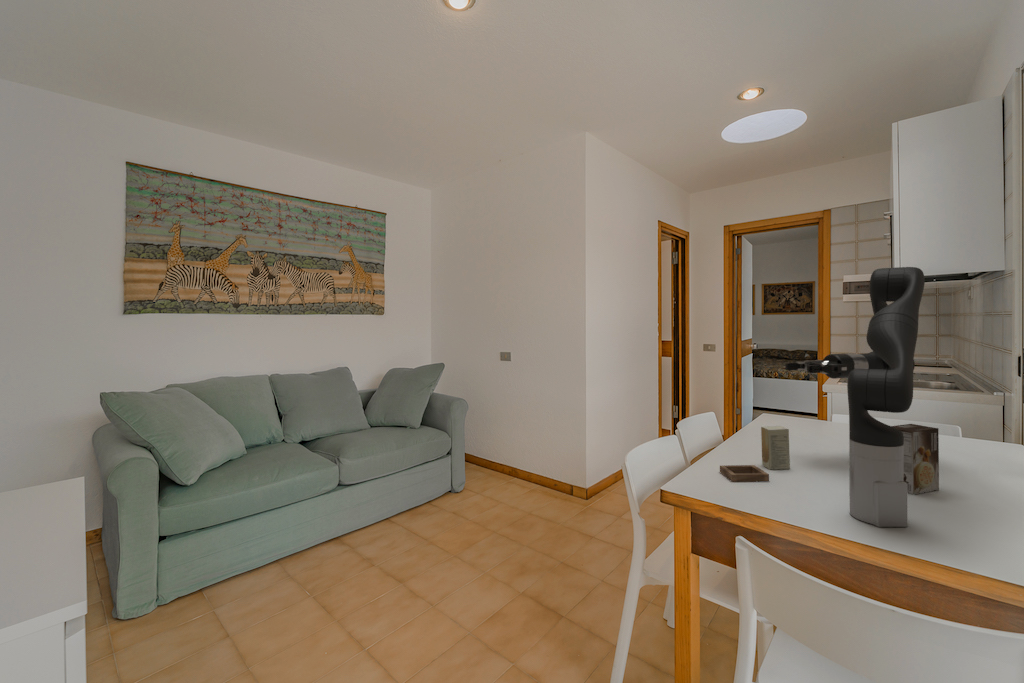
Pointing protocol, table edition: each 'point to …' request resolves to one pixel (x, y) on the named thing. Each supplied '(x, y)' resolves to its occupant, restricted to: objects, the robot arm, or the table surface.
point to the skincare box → (775, 447)
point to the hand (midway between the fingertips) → (796, 367)
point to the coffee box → (920, 458)
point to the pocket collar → (744, 473)
